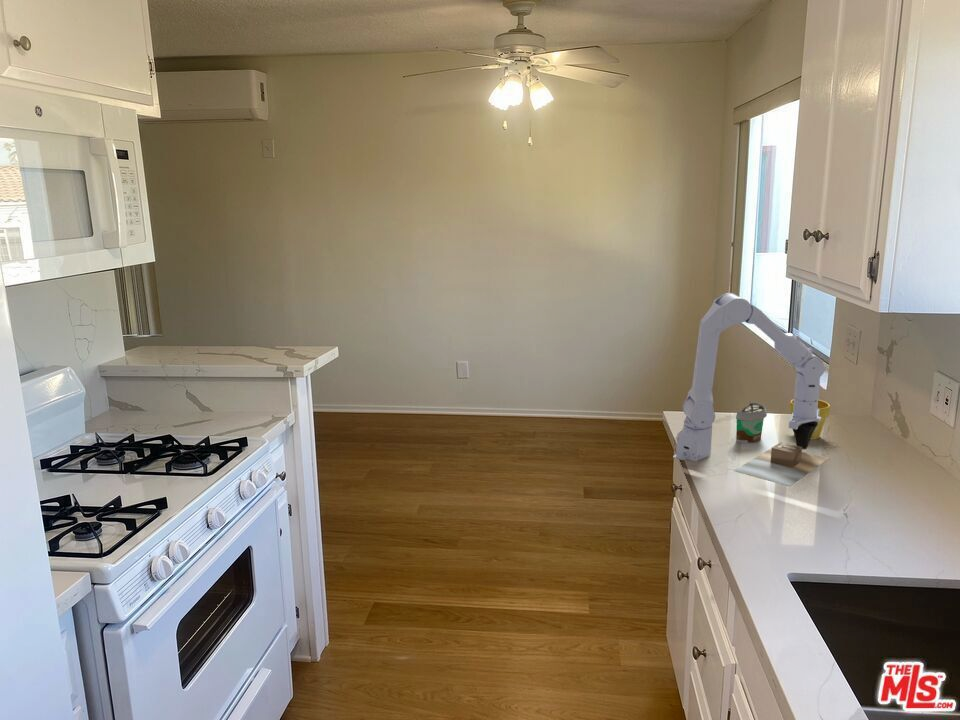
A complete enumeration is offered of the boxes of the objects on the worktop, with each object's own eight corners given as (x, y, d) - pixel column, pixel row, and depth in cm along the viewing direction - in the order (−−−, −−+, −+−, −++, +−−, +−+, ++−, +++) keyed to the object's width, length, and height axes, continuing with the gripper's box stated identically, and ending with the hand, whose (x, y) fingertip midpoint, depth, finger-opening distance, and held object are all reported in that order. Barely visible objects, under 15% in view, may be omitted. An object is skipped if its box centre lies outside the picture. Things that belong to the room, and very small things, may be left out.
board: (789, 490, 170) (789, 486, 170) (733, 474, 180) (733, 470, 180) (829, 461, 186) (829, 458, 186) (775, 448, 196) (776, 445, 196)
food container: (757, 450, 195) (759, 415, 193) (734, 446, 199) (736, 411, 196) (770, 437, 205) (772, 404, 202) (748, 433, 208) (750, 400, 206)
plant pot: (829, 432, 207) (832, 400, 205) (824, 444, 199) (827, 410, 196) (791, 427, 213) (793, 395, 210) (784, 438, 204) (787, 405, 202)
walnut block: (791, 467, 181) (793, 452, 180) (770, 462, 184) (771, 447, 183) (801, 461, 184) (802, 446, 183) (779, 456, 188) (780, 441, 187)
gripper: (810, 408, 180) (806, 459, 183) (832, 395, 190) (828, 444, 193) (782, 402, 185) (778, 452, 188) (805, 390, 195) (801, 438, 198)
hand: (802, 448), depth 191 cm, fingers closed
